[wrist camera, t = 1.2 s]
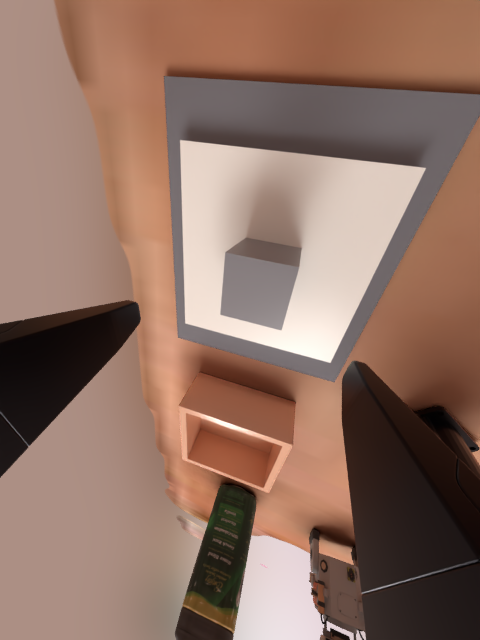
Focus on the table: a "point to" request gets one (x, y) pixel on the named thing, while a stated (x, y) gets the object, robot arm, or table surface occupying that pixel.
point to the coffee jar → (219, 569)
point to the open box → (236, 430)
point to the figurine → (336, 591)
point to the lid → (284, 241)
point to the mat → (321, 140)
